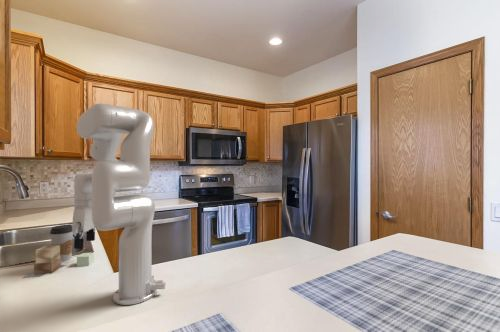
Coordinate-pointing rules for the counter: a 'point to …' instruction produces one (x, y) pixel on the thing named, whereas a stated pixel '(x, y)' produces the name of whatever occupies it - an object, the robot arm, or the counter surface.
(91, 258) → the sage block
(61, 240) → the coffee cup
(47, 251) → the maple block
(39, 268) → the walnut block
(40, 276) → the flat square pad
